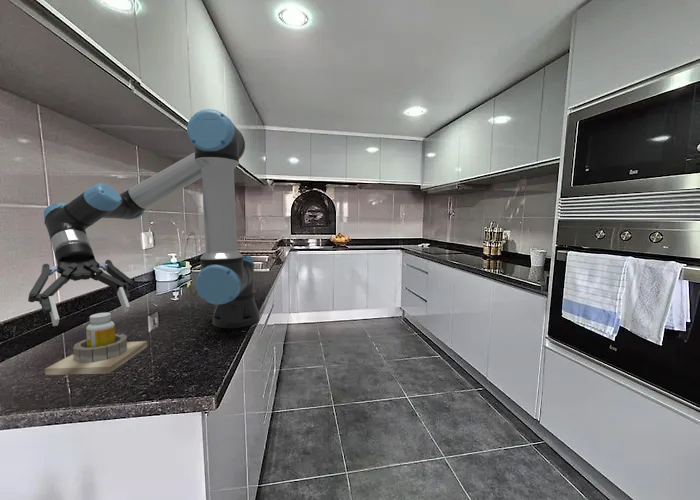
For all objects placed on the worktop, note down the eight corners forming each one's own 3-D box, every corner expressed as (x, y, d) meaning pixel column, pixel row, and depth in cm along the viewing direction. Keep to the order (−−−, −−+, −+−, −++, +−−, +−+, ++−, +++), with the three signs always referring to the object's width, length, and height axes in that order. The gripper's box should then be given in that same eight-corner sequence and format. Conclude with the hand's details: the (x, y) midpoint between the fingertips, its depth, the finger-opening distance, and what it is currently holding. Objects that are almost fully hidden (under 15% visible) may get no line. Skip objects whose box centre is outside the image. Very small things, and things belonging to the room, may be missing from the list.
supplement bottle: (81, 358, 71) (79, 318, 70) (98, 349, 76) (96, 311, 76) (106, 357, 72) (104, 317, 71) (120, 348, 77) (119, 311, 76)
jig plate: (147, 346, 82) (146, 330, 82) (109, 373, 67) (108, 353, 67) (95, 347, 81) (94, 331, 80) (45, 375, 66) (44, 355, 66)
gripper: (124, 256, 93) (147, 312, 86) (2, 264, 73) (18, 338, 66) (131, 240, 90) (155, 297, 82) (4, 243, 70) (21, 319, 62)
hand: (94, 315), depth 74 cm, fingers open, 13 cm apart
